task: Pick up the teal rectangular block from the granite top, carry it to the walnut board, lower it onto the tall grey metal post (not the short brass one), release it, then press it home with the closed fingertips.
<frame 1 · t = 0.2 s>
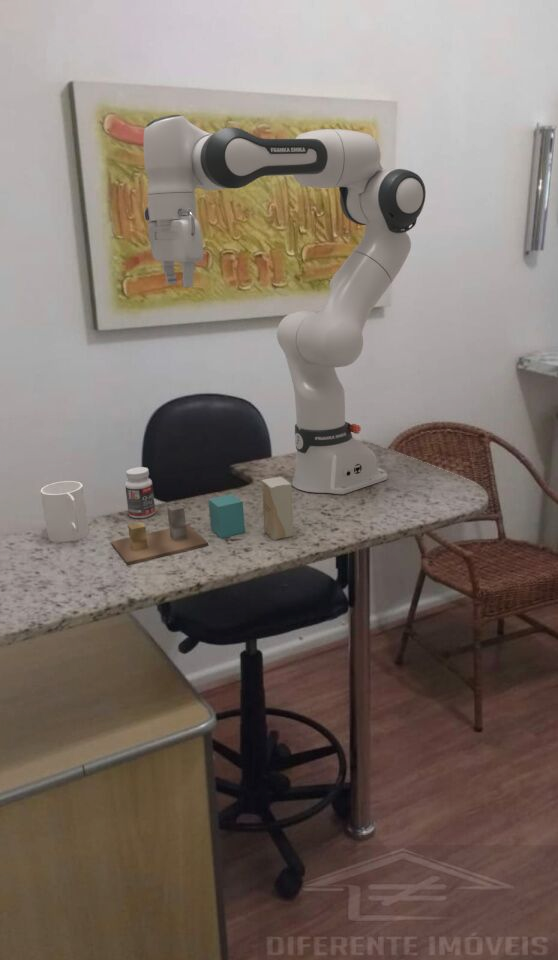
hand: (179, 285, 146), 47 cm above the table, fingers open, 8 cm apart
box: (279, 534, 147), on the table
pill bottle: (142, 514, 161), on the table
cup: (71, 537, 151), on the table
teal rectangular block: (227, 530, 150), on the table
stand: (159, 544, 145), on the table
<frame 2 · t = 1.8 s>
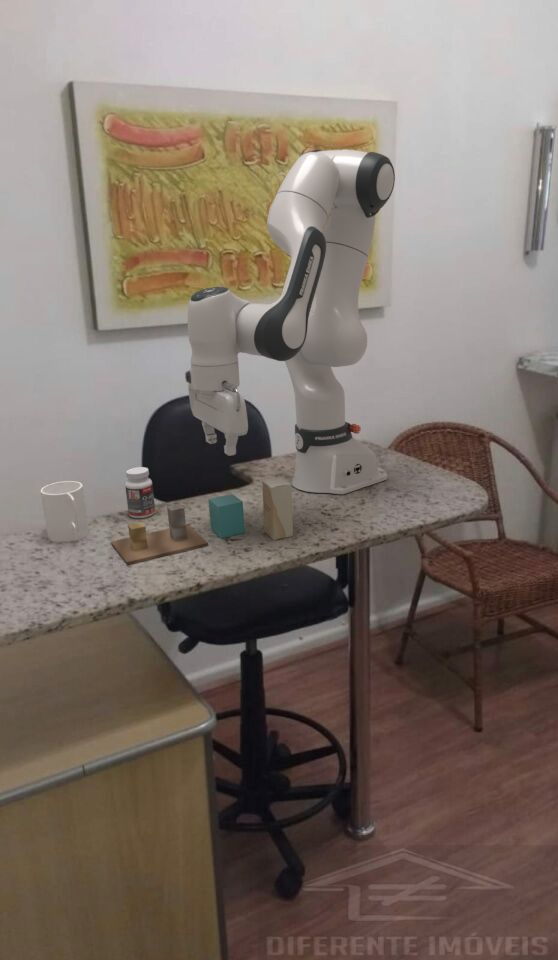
hand: (220, 448, 144), 17 cm above the table, fingers open, 8 cm apart
nothing on the table moved.
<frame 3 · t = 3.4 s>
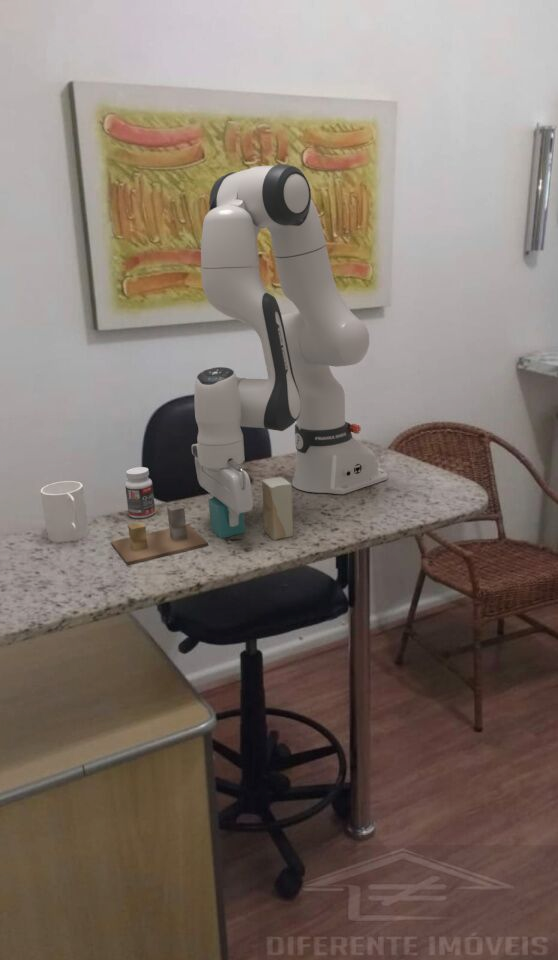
hand: (226, 519, 149), 2 cm above the table, fingers closed on teal rectangular block, 5 cm apart
teal rectangular block: (227, 530, 150), on the table, touching gripper
everything else where it was.
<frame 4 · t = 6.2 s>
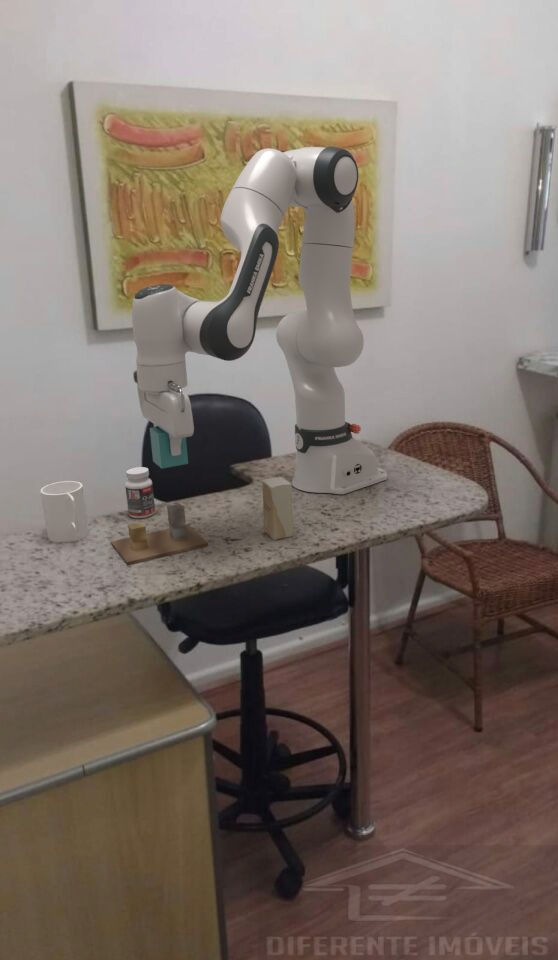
hand: (169, 450, 141), 19 cm above the table, fingers closed on teal rectangular block, 5 cm apart
teal rectangular block: (170, 462, 141), point 16 cm above the table, touching gripper
everything else where it was.
when the fingers open (5 cm above the table, at t = 8.8 s): teal rectangular block drops 2 cm, resting on stand.
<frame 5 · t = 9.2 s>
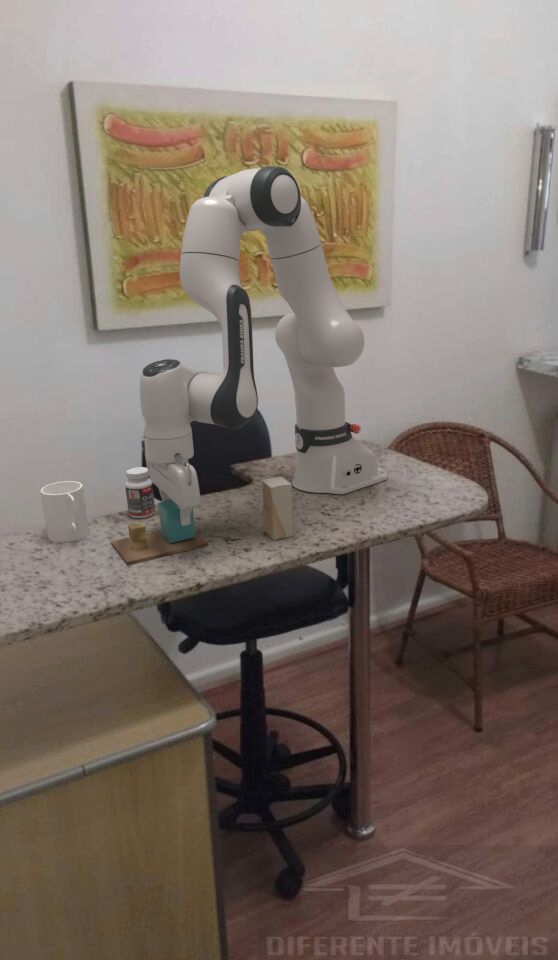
hand: (176, 516, 145), 5 cm above the table, fingers open, 8 cm apart
teal rectangular block: (178, 535, 146), point 1 cm above the table, touching stand
everything else where it was.
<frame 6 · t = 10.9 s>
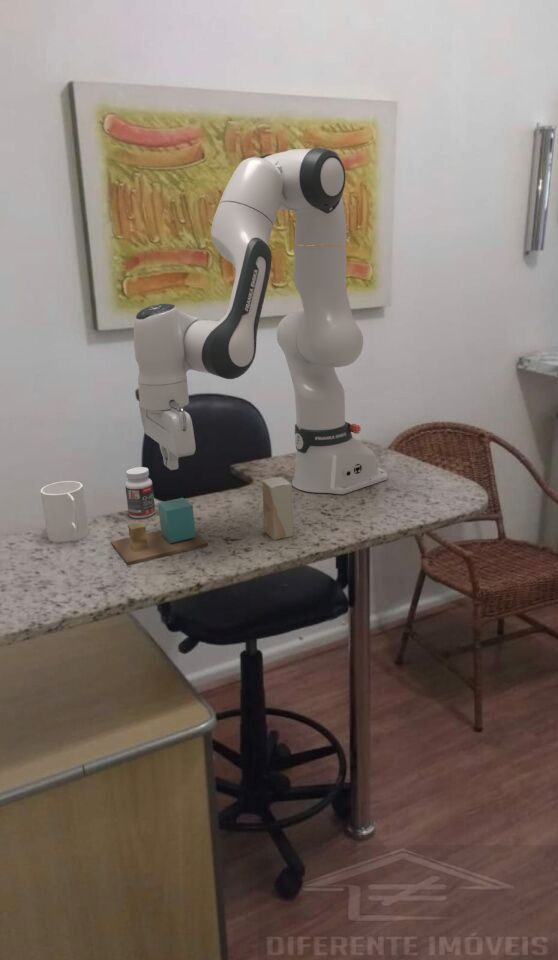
hand: (171, 467, 142), 15 cm above the table, fingers closed
nothing on the table moved.
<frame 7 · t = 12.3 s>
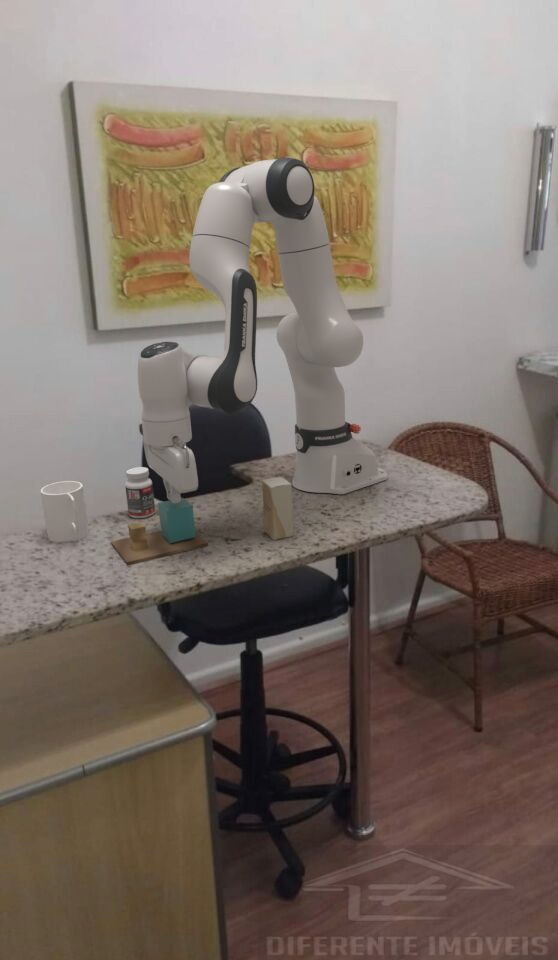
hand: (174, 500, 144), 8 cm above the table, fingers closed
nothing on the table moved.
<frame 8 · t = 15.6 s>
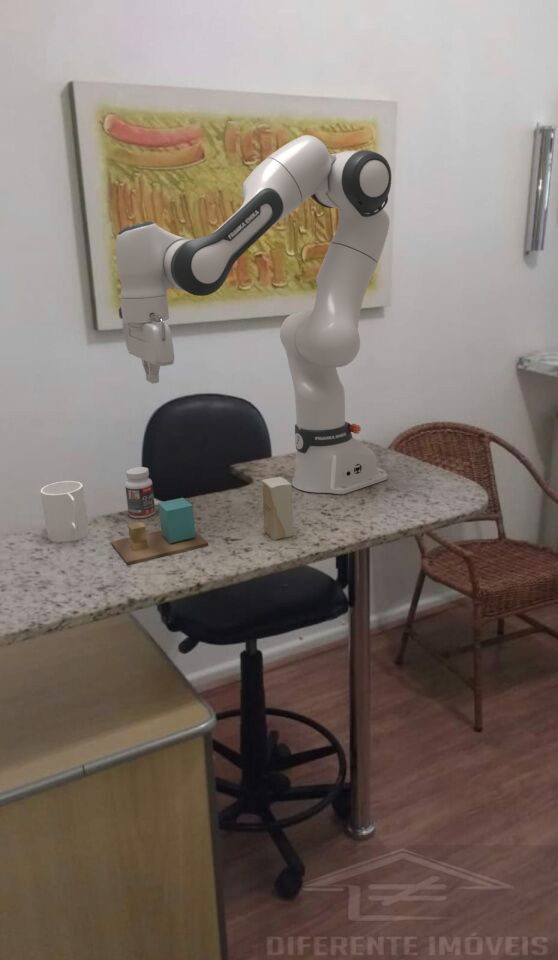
hand: (152, 382, 149), 29 cm above the table, fingers closed
nothing on the table moved.
at the end: teal rectangular block 0.1 cm from the target spot on the stand, point 1.0 cm above the stand's base; teal rectangular block point 1.0 cm above the table; the gripper is holding nothing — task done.
